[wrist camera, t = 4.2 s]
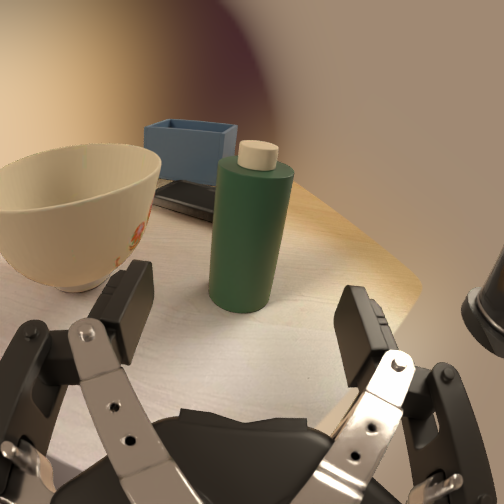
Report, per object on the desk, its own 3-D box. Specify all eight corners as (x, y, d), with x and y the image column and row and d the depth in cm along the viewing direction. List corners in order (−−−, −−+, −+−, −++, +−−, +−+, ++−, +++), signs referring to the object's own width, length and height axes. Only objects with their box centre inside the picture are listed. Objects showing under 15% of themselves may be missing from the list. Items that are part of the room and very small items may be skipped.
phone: (250, 224, 34) (145, 194, 38) (248, 233, 35) (146, 201, 39) (273, 202, 40) (179, 178, 44) (271, 210, 41) (179, 185, 45)
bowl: (97, 367, 17) (57, 233, 12) (-20, 292, 19) (-52, 194, 14) (190, 250, 30) (195, 152, 25) (76, 219, 33) (68, 140, 28)
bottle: (272, 280, 28) (298, 143, 21) (266, 318, 24) (298, 159, 17) (216, 269, 28) (229, 133, 22) (201, 306, 24) (210, 146, 17)
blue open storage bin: (232, 169, 55) (237, 125, 51) (219, 186, 47) (224, 133, 42) (166, 161, 56) (168, 118, 51) (143, 176, 47) (144, 126, 43)
